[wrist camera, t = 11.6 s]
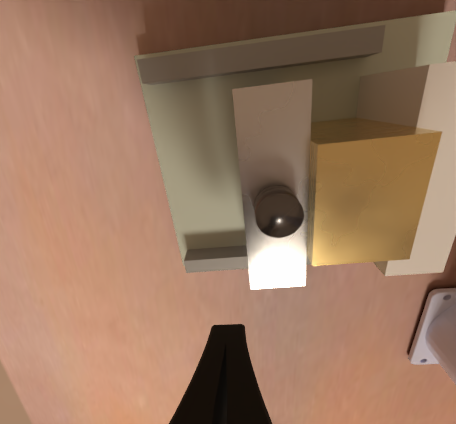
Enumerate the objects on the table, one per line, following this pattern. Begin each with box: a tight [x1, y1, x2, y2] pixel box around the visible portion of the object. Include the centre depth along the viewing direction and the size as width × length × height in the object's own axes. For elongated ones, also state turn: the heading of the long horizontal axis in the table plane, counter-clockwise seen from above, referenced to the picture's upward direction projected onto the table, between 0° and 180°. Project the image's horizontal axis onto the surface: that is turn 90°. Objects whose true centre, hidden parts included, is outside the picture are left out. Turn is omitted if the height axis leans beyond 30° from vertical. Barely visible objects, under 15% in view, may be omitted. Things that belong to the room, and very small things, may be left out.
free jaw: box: [232, 79, 312, 289], centre depth 10 cm, size 2×8×5 cm, turn 6°
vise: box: [134, 11, 456, 276], centre depth 11 cm, size 14×12×5 cm
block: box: [307, 118, 442, 266], centre depth 10 cm, size 4×4×6 cm
